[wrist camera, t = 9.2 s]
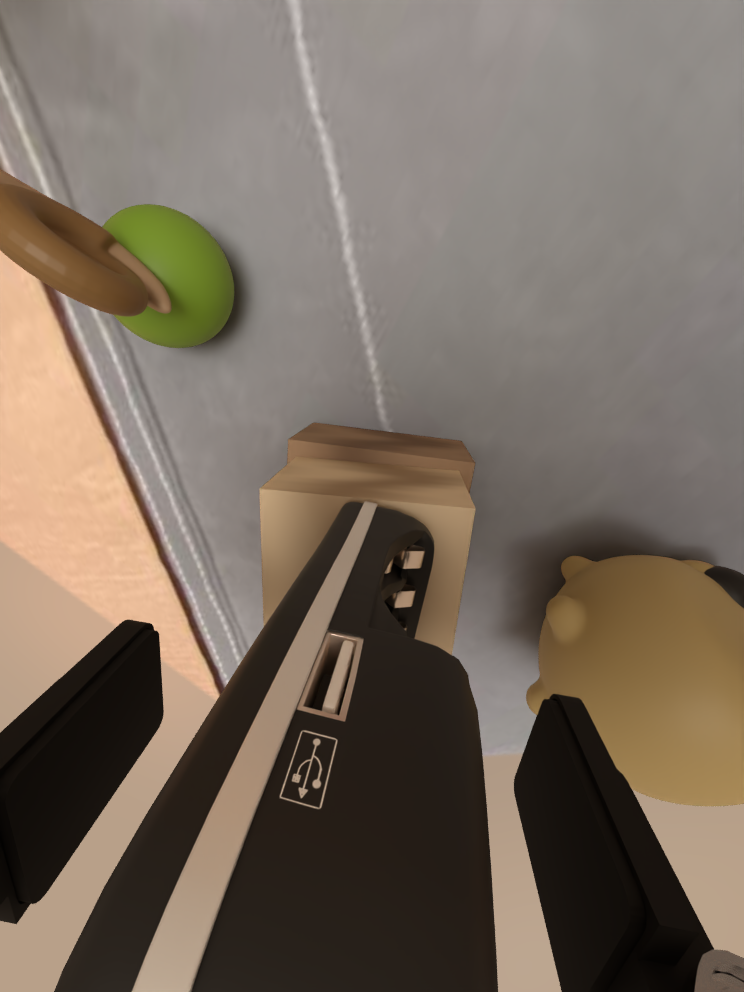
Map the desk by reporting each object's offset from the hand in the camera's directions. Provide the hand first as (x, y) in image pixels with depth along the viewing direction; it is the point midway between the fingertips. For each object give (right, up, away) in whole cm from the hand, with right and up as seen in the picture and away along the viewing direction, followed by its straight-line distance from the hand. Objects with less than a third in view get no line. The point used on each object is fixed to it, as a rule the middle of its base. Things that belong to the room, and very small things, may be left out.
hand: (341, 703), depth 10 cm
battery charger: (+1, +2, +4) cm, 5 cm away
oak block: (+1, +3, +9) cm, 9 cm away
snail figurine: (-8, +16, +10) cm, 20 cm away
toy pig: (+15, -1, +14) cm, 20 cm away
